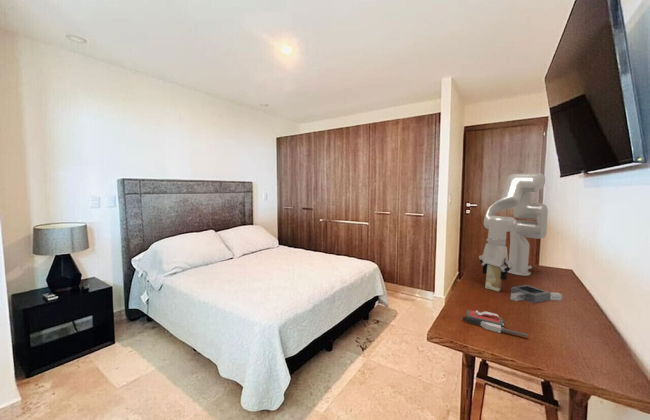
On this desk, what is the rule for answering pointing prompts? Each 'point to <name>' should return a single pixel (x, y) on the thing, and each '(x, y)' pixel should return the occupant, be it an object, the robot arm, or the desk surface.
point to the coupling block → (532, 294)
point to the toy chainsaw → (488, 321)
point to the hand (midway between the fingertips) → (493, 276)
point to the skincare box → (493, 278)
